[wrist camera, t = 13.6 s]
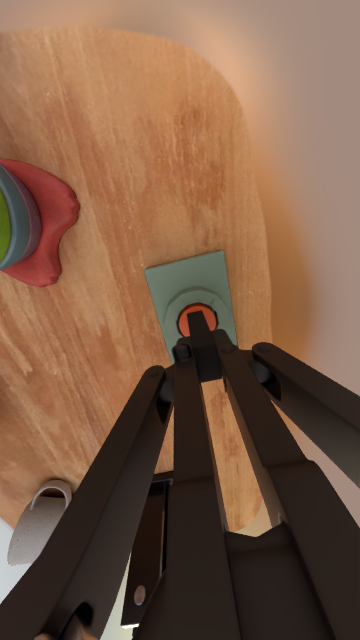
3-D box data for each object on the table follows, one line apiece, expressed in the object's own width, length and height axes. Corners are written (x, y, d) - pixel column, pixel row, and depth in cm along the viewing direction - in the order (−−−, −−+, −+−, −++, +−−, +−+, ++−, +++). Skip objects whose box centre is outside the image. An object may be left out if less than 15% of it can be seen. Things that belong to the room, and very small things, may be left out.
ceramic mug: (85, 511, 37) (63, 574, 30) (43, 511, 37) (11, 574, 30) (79, 477, 33) (53, 539, 26) (32, 476, 33) (-8, 539, 26)
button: (215, 329, 20) (218, 336, 19) (183, 336, 21) (183, 344, 19) (209, 298, 19) (212, 302, 18) (175, 306, 19) (175, 311, 18)
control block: (233, 346, 24) (244, 364, 20) (173, 359, 25) (173, 379, 21) (219, 249, 20) (229, 250, 16) (146, 267, 20) (140, 272, 17)
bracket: (179, 469, 33) (180, 611, 20) (190, 498, 36) (198, 636, 23) (120, 480, 34) (85, 623, 21) (136, 507, 37) (115, 646, 24)
